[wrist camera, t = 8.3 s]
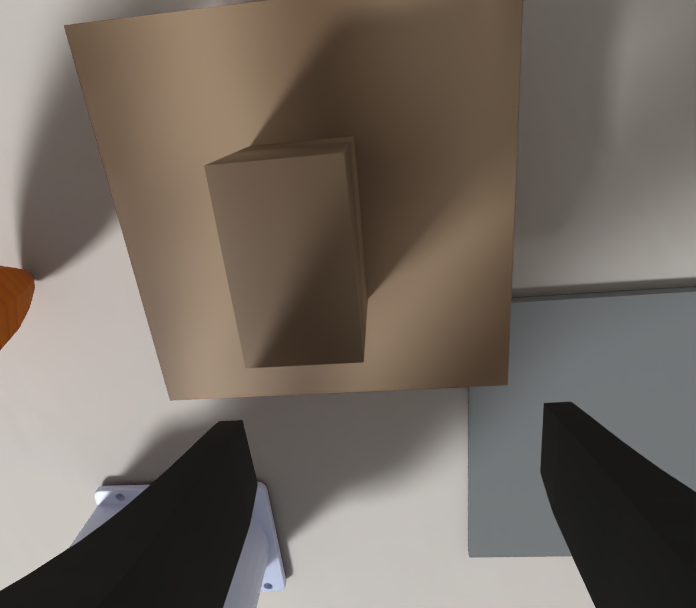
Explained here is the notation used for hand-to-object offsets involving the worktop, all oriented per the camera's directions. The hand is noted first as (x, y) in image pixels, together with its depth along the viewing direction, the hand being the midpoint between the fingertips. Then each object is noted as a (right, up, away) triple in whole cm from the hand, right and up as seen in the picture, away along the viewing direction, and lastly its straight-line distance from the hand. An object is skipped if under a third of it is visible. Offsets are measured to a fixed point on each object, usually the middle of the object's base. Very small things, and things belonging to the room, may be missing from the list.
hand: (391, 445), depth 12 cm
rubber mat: (+12, -3, +12) cm, 17 cm away
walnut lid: (-2, +6, +4) cm, 7 cm away
